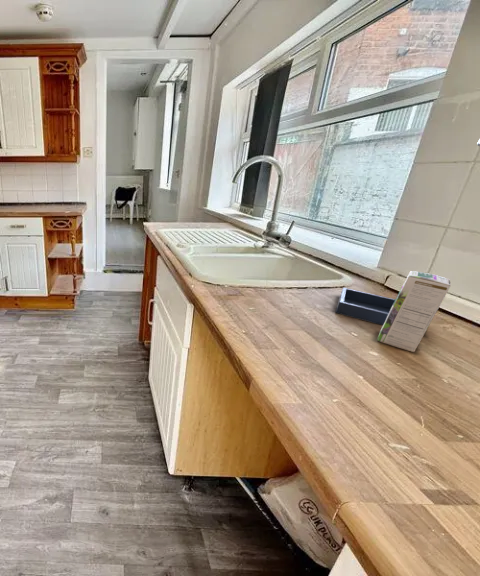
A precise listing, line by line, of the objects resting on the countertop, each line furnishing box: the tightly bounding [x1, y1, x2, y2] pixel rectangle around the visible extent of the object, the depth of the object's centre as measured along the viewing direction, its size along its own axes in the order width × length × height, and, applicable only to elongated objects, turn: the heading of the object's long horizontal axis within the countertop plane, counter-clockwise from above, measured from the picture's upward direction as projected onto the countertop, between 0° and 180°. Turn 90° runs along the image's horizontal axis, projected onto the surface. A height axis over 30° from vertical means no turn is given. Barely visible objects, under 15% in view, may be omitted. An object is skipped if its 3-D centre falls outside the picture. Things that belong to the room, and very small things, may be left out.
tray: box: [335, 287, 429, 334], centre depth 75 cm, size 16×14×3 cm
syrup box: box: [376, 270, 451, 353], centre depth 60 cm, size 6×6×14 cm
